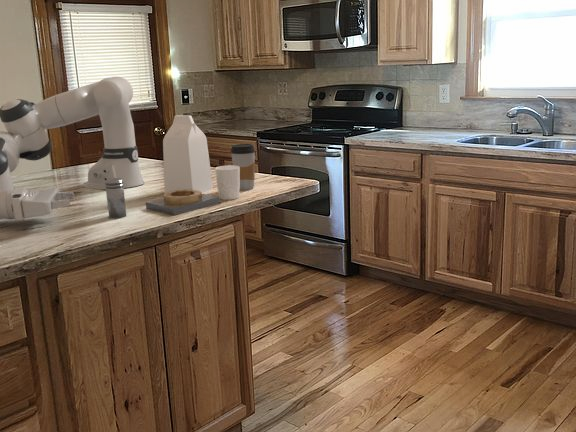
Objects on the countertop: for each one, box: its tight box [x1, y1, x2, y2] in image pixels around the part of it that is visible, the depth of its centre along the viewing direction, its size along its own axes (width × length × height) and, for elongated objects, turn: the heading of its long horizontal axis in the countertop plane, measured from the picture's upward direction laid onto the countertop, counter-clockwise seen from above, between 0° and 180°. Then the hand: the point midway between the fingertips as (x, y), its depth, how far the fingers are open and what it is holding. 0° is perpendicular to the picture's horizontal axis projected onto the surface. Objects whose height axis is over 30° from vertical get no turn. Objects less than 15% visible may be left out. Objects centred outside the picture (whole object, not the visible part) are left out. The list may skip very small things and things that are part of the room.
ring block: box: [145, 189, 221, 216], centre depth 192 cm, size 18×14×4 cm
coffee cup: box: [230, 143, 256, 191], centre depth 213 cm, size 8×8×15 cm
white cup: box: [214, 164, 241, 201], centre depth 200 cm, size 8×8×10 cm
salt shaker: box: [105, 178, 127, 220], centre depth 182 cm, size 5×5×11 cm
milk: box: [162, 114, 214, 194], centre depth 210 cm, size 12×12×26 cm
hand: (71, 198), depth 179 cm, fingers open, 8 cm apart
